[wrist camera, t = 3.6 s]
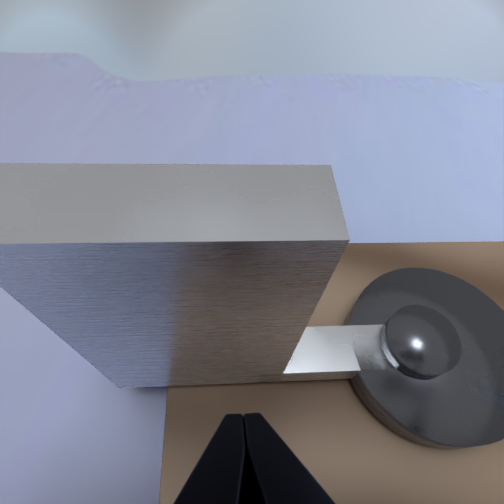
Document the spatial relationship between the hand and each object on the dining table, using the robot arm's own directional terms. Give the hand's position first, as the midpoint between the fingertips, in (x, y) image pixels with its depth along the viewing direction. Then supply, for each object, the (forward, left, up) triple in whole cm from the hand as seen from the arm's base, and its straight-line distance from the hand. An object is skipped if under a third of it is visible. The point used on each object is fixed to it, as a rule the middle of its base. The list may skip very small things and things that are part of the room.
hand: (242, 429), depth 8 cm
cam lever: (+5, -1, -7) cm, 9 cm away
